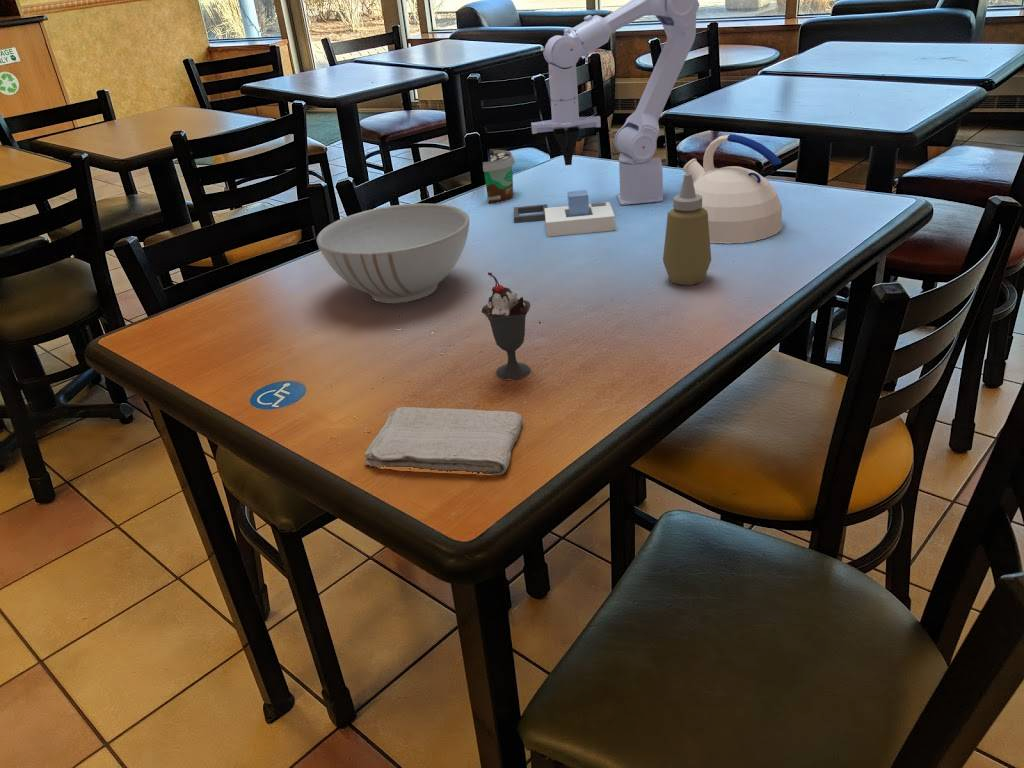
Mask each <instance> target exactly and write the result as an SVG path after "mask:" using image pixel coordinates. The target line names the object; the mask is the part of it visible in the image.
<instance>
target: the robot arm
mask: <svg viewBox="0 0 1024 768" xmlns="http://www.w3.org/2000/svg"><path fill="white" fill-rule="evenodd" d="M699 8H700V2H699V0H630V1H628V2H626V3H625V4H623V5H622V6H621V7H619V8H616V9H615V10H614V11H612V12H611V13H609V14H607V15H606V16H605V17H602V16H600V15H597V14H596V15H593V16H592V15H590V14H589V15H586V16H584V17H583V20H584V21H582V22H580V23H579V24H577V25H575V26H574V27H572V28H565V29H564V30H563V35H560V34H559V35H557V34H556V35H554V36H552V37H550V38H549V39H548V40H547V42H546V44H545V45H544V51H542V54H543V57H544V59H545V61H546V63H548V81H549V84H548V85H549V96H550V97H549V98H550V99H549V100H550V109H551V119H549V120H541V121H535V122H531V123H530V125H531V134H532V135H535V134H538V133H547V132H553V136H554V138H555V140H556V142H557V144H558V145H559V146H558V147H560V150H561V153H562V156H563V159H564V166H572V164H573V155H574V151H575V147H576V143H577V141H578V138H579V136H580V129H587V128H588V129H589V128H601V127H602V126H601V124H602V121H601V116H600V115H595V116H580V115H579V114H580V112H579V111H580V110H579V108H580V107H579V96H578V95H579V94H578V92H579V90H578V75H577V63H578V62H579V60H580V58H583V57H584V56H585V55H589V54H590V53H591V52H593V51H595V50H597V49H599V48H601V47H602V46H604V45H606V44H607V43H609V40H610V38H611V34H612V33H614V32H616V31H618V30H619V29H622V28H624V27H626V26H628V25H629V24H631V23H633V22H635V21H637V20H640V19H641V18H644V17H645V16H655V17H656V18H657V20H658V22H660V23H661V25H662V28H663V30H664V32H665V33H664V34H665V35H666V40H665V43H664V45H663V47H662V50H661V52H660V53H659V57H658V58H657V61H656V63H655V65H654V67H653V70H652V73H651V74H650V77H649V79H648V81H647V83H646V86H645V87H644V91H643V92H642V95H641V98H640V99H639V102H638V104H637V106H636V109H635V110H634V111H633V112H632V113H631V114H630V115H629V116H628V117H627V118H626V119H625V122H624V124H623V125H622V126H621V127H620V128H619V129H618V130H617V132H616V134H615V135H614V141H613V142H614V146H615V149H616V150H617V152H619V157H618V164H619V165H618V166H619V168H618V170H619V171H618V172H619V173H618V175H619V193H616V197H617V199H618V202H619V204H620V206H626V205H636V204H637V205H638V204H646V203H659V202H663V201H664V192H663V191H664V190H663V187H664V186H663V185H664V183H663V182H664V179H663V178H664V177H663V172H664V171H663V163H662V159H661V157H653V156H654V154H656V153H655V152H656V151H657V140H658V137H659V134H660V133H661V132H660V125H659V120H660V117H661V115H662V113H663V111H664V108H665V106H666V104H667V101H668V99H669V97H670V95H671V93H672V91H673V89H674V86H675V84H676V82H677V80H678V79H679V75H680V73H681V71H682V69H683V66H684V65H685V62H686V60H687V57H688V56H689V53H690V51H691V49H692V47H693V44H694V43H695V39H696V36H697V35H696V34H697V33H696V31H697V29H696V28H697V12H698V10H699Z"/></svg>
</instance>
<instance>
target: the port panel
mask: <svg viewBox="0 0 1024 768" xmlns="http://www.w3.org/2000/svg"><path fill="white" fill-rule="evenodd" d="M544 210H545V220H544V221H545V230H546V237H559V236H569V235H579V234H590V233H602V232H612V231H613V230H614V231H616V215H615V212H614V210H613V208H612V205H611V202H610V201H606V202H595V203H589V215H585V216H575V217H569V210H568V205H565V206H554V207H548V208H544Z"/></svg>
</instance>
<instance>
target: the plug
mask: <svg viewBox="0 0 1024 768" xmlns="http://www.w3.org/2000/svg"><path fill="white" fill-rule="evenodd" d="M566 194H567V206H568V210H569V217H575V216H585V215H589V204H590V203H589V194H588V191H587V189H583V190H580V189H579V190H571V191H570V190H569V191H567V193H566Z"/></svg>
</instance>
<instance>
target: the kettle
mask: <svg viewBox="0 0 1024 768" xmlns="http://www.w3.org/2000/svg"><path fill="white" fill-rule="evenodd" d="M726 142H730V143H734V144H739V145H742V146H744V147H747V148H750V150H753V151H755V152H757V153H759V154H760V155H762V156H763V158H765V159H766V160H767V161H768V162H769V163H770V164H771V166H777V165H780V164H782V163H783V162H782V160H781V159H780V158H779V156H777V155H776V154H775V153H774V152H773V151H772V150H771V149H769V148H768V147H766V146H765V145H764V144H762V143H760V142H759V141H756V140H754V139H751V138H749V137H745V136H743V135H738V134H731V133H730V134H726V135H725V134H724V135H720V136H718V137H716V138H715V139H714V140H713V141H711V142H710V143H709V144H708V147H706V149H705V152H704V155H703V157H702V158H703V160H702V161H703V162H702V165H703V166H702V165H701V164H700V163H699V162H698V161H697V158H692V159H690V160H689V161H688V162H686V163H685V164H684V166H683V168H682V171H683V172H684V173H685V174H691V175H692V179H693V184H694V189H695V194H699V195H701V196H702V208H704V209H705V210H706V211H707V213H708V224H709V236H710V244H715V243H738V244H742V243H741V242H747V243H750V242H749V241H755V242H757V241H756V240H758V241H761V240H760V239H762V240H765V239H764V238H766V239H768V238H770V236H771V237H773V236H775V235H776V234H777V233H779V232H781V230H782V228H783V220H782V219H783V215H782V204H781V201H780V198H779V196H778V195H779V194H778V193H777V191H776V189H775V188H774V186H773V185H772V184H771V183H770V181H769V180H768V179H767V178H765V177H764V176H762V175H761V174H760V173H758V172H757V171H755V170H752V169H749V168H745V167H742V166H736V165H735V166H732V165H731V166H723V167H719V168H718V167H715V165H714V155H715V151H716V149H717V148H718V147H719V145H721V144H723V143H726ZM774 234H775V235H774ZM772 235H773V236H772ZM767 237H768V238H767Z"/></svg>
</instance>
